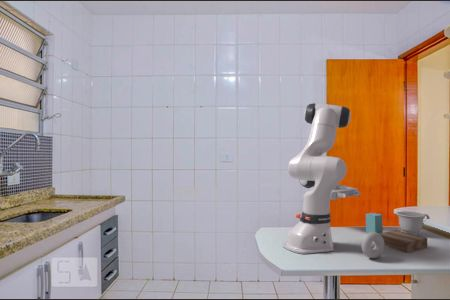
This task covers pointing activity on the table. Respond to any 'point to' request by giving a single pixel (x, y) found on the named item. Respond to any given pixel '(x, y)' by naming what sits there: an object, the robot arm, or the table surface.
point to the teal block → (374, 223)
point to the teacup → (411, 221)
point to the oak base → (403, 241)
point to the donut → (377, 248)
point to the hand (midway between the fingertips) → (353, 194)
